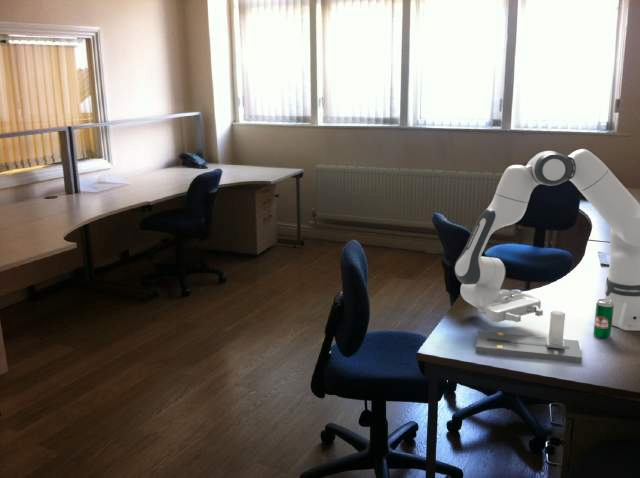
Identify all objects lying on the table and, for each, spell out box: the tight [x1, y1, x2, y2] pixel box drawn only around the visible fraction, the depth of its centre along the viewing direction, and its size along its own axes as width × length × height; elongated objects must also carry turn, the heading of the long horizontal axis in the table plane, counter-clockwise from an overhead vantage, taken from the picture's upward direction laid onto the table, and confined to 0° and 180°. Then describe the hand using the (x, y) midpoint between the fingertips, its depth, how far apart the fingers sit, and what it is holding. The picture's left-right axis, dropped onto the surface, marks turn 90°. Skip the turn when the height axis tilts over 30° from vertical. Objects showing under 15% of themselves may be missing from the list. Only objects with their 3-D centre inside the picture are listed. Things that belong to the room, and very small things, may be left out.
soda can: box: [593, 298, 614, 340], centre depth 202 cm, size 5×5×12 cm
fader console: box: [475, 330, 583, 365], centre depth 195 cm, size 30×12×2 cm, turn 73°
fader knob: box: [545, 310, 566, 349], centre depth 191 cm, size 5×5×10 cm
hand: (530, 316), depth 199 cm, fingers open, 8 cm apart
